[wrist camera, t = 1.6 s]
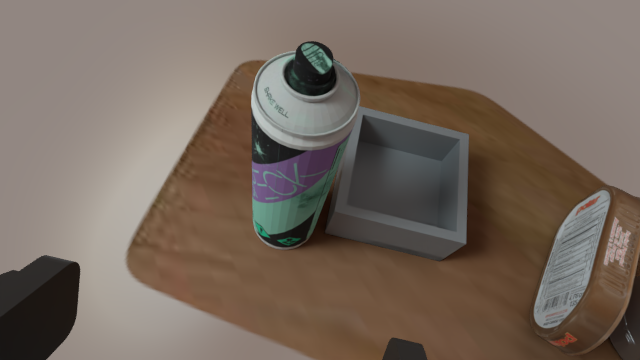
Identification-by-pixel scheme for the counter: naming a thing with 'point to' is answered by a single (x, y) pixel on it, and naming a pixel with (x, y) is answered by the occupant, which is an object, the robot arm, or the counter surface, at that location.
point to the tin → (588, 272)
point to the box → (402, 186)
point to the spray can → (298, 140)
